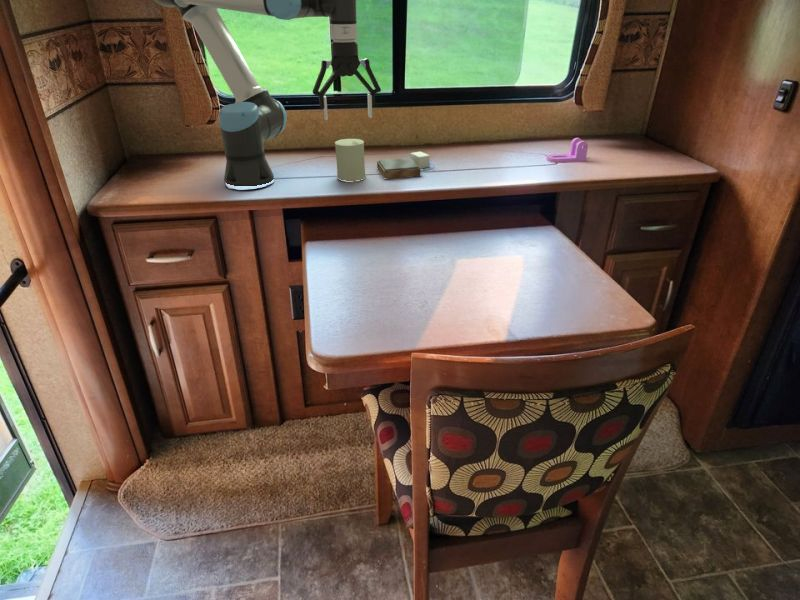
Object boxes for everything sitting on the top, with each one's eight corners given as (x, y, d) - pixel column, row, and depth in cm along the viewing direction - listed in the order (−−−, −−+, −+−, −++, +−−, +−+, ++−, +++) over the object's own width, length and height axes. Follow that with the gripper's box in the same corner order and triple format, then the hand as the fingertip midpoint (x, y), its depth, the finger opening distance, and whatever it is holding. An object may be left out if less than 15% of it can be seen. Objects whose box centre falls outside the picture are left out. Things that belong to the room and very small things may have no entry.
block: (419, 168, 176) (419, 157, 174) (410, 164, 181) (410, 153, 179) (429, 167, 178) (429, 155, 176) (420, 162, 182) (420, 151, 180)
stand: (384, 179, 166) (384, 170, 165) (377, 168, 176) (376, 159, 175) (420, 176, 169) (420, 167, 167) (411, 165, 179) (411, 157, 177)
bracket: (578, 157, 186) (582, 137, 183) (585, 161, 181) (588, 141, 178) (543, 158, 185) (546, 139, 181) (549, 163, 180) (552, 143, 176)
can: (352, 184, 162) (350, 145, 156) (331, 179, 167) (328, 141, 161) (371, 177, 168) (370, 139, 162) (350, 172, 173) (348, 135, 167)
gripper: (301, 42, 142) (308, 122, 153) (389, 40, 147) (390, 118, 158) (299, 40, 148) (306, 117, 159) (384, 38, 154) (385, 113, 165)
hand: (348, 118), depth 159 cm, fingers open, 13 cm apart
